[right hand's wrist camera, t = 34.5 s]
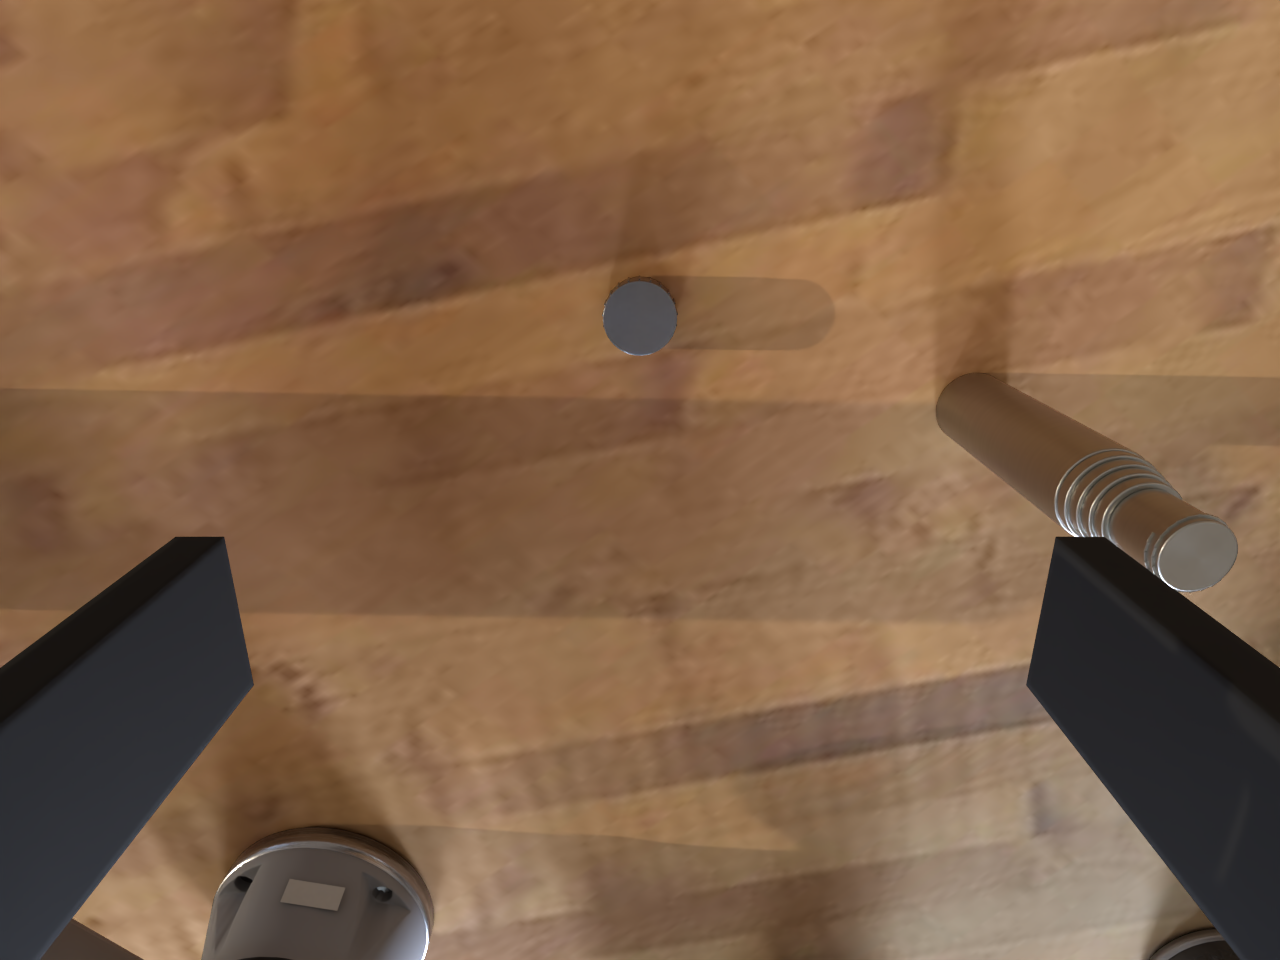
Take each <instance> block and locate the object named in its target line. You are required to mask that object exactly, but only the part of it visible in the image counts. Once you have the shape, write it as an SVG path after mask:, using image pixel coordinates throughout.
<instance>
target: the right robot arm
mask: <svg viewBox="0 0 1280 960" xmlns="http://www.w3.org/2000/svg"><path fill="white" fill-rule="evenodd" d="M253 685H254V684H253V679H252V674H251V669H250V664H249V659H248V654H247V649H246V644H245V639H244V634H243V629H242V624H241V619H240V614H239V609H238V604H237V599H236V594H235V589H234V584H233V579H232V574H231V569H230V564H229V559H228V554H227V549H226V544H225V539H224V537H175V538H173V539H172V540H171V541H169V542H168V543H167V544H165V545H164V546H163V547H161V548H160V549H159V550H157V551H156V552H155V553H153V554H152V555H151V556H149V557H148V558H147V559H145V560H144V561H143V562H141V563H140V564H139V565H137V566H136V567H135V568H133V569H132V570H131V571H129V572H128V573H127V574H125V575H124V576H123V577H121V578H120V579H119V580H117V581H116V582H115V583H113V584H112V585H111V586H109V587H108V588H107V589H105V590H104V591H103V592H101V593H100V594H99V595H97V596H96V597H95V598H93V599H92V600H91V601H89V602H88V603H87V604H85V605H84V606H83V607H81V608H80V609H79V610H77V611H76V612H75V613H73V614H72V615H71V616H69V617H68V618H66V619H65V620H64V621H62V622H61V623H60V624H58V625H57V626H56V627H54V628H53V629H52V630H50V631H49V632H48V633H46V634H45V635H44V636H42V637H41V638H40V639H38V640H37V641H36V642H34V643H33V644H32V645H30V646H29V647H28V648H26V649H25V650H24V651H22V652H21V653H20V654H18V655H17V656H16V657H14V658H13V659H12V660H10V661H9V662H8V663H6V664H5V665H4V666H2V667H1V668H0V960H143V959H141V958H140V957H138V956H136V955H135V954H133V953H131V952H129V951H128V950H126V949H124V948H122V947H121V946H119V945H117V944H115V943H114V942H112V941H110V940H108V939H107V938H105V937H103V936H102V935H100V934H98V933H96V932H95V931H93V930H91V929H89V928H88V927H86V926H84V925H82V924H81V923H79V922H77V921H76V920H74V919H72V918H73V916H74V915H75V914H76V913H77V911H78V910H79V909H80V907H81V906H82V905H83V904H84V902H85V901H86V900H87V898H88V897H89V896H90V895H91V893H92V892H93V891H94V889H95V888H96V887H97V886H98V884H99V883H100V882H101V880H102V879H103V878H104V877H105V875H106V874H107V873H108V871H109V870H110V869H111V868H112V866H113V865H114V864H115V862H116V861H117V860H118V859H119V857H120V856H121V855H122V853H123V852H124V851H125V850H126V848H127V847H128V846H129V845H130V843H131V842H132V841H133V839H134V838H135V837H136V836H137V834H138V833H139V832H140V830H141V829H142V828H143V827H144V825H145V824H146V823H147V821H148V820H149V819H150V818H151V816H152V815H153V814H154V812H155V811H156V810H157V809H158V807H159V806H160V805H161V803H162V802H163V801H164V800H165V798H166V797H167V796H168V794H169V793H170V792H171V791H172V789H173V788H174V787H175V785H176V784H177V783H178V782H179V780H180V779H181V778H182V776H183V775H184V774H185V773H186V771H187V770H188V769H189V767H190V766H191V765H192V764H193V762H194V761H195V760H196V759H197V757H198V756H199V755H200V753H201V752H202V751H203V750H204V748H205V747H206V746H207V744H208V743H209V742H210V741H211V739H212V738H213V737H214V735H215V734H216V733H217V732H218V730H219V729H220V728H221V726H222V725H223V724H224V723H225V721H226V720H227V719H228V717H229V716H230V715H231V714H232V712H233V711H234V710H235V708H236V707H237V706H238V705H239V703H240V702H241V701H242V699H243V698H244V697H245V696H246V694H247V693H248V692H249V690H250V689H251V688H252V687H253ZM1026 685H1027V687H1028V688H1029V689H1030V690H1031V692H1032V693H1033V694H1034V696H1035V697H1036V698H1037V699H1038V701H1039V702H1040V703H1041V705H1042V706H1043V707H1044V708H1045V710H1046V711H1047V712H1048V714H1049V715H1050V716H1051V717H1052V719H1053V720H1054V721H1055V723H1056V724H1057V725H1058V726H1059V728H1060V729H1061V730H1062V732H1063V733H1064V734H1065V735H1066V737H1067V738H1068V739H1069V741H1070V742H1071V743H1072V744H1073V746H1074V747H1075V748H1076V750H1077V751H1078V752H1079V753H1080V755H1081V756H1082V757H1083V759H1084V760H1085V761H1086V762H1087V764H1088V765H1089V766H1090V767H1091V769H1092V770H1093V771H1094V773H1095V774H1096V775H1097V776H1098V778H1099V779H1100V780H1101V782H1102V783H1103V784H1104V785H1105V787H1106V788H1107V789H1108V791H1109V792H1110V793H1111V794H1112V796H1113V797H1114V798H1115V800H1116V801H1117V802H1118V803H1119V805H1120V806H1121V807H1122V809H1123V810H1124V811H1125V812H1126V814H1127V815H1128V816H1129V818H1130V819H1131V820H1132V821H1133V823H1134V824H1135V825H1136V827H1137V828H1138V829H1139V830H1140V832H1141V833H1142V834H1143V836H1144V837H1145V838H1146V839H1147V841H1148V842H1149V843H1150V845H1151V846H1152V847H1153V848H1154V850H1155V851H1156V852H1157V853H1158V855H1159V856H1160V857H1161V859H1162V860H1163V861H1164V862H1165V864H1166V865H1167V866H1168V868H1169V869H1170V870H1171V871H1172V873H1173V874H1174V875H1175V877H1176V878H1177V879H1178V880H1179V882H1180V883H1181V884H1182V886H1183V887H1184V888H1185V889H1186V891H1187V892H1188V893H1189V895H1190V896H1191V897H1192V898H1193V900H1194V901H1195V902H1196V904H1197V905H1198V906H1199V907H1200V909H1201V910H1202V911H1203V913H1204V914H1205V915H1206V916H1207V918H1208V919H1209V920H1210V922H1211V923H1212V924H1213V925H1214V927H1215V928H1216V929H1217V931H1218V932H1219V933H1220V934H1221V936H1222V937H1223V938H1224V939H1225V941H1226V942H1227V943H1228V945H1229V946H1230V947H1231V948H1232V950H1233V951H1234V952H1235V954H1236V955H1237V956H1238V957H1239V959H1240V960H1280V668H1279V667H1278V666H1276V665H1275V664H1274V663H1272V662H1271V661H1270V660H1268V659H1267V658H1266V657H1264V656H1263V655H1262V654H1260V653H1259V652H1258V651H1256V650H1255V649H1254V648H1252V647H1251V646H1250V645H1248V644H1247V643H1246V642H1244V641H1243V640H1242V639H1240V638H1239V637H1238V636H1236V635H1235V634H1234V633H1232V632H1231V631H1230V630H1228V629H1227V628H1226V627H1224V626H1223V625H1222V624H1220V623H1219V622H1218V621H1216V620H1215V619H1213V618H1212V617H1211V616H1209V615H1208V614H1207V613H1205V612H1204V611H1203V610H1201V609H1200V608H1199V607H1197V606H1196V605H1195V604H1193V603H1192V602H1191V601H1189V600H1188V599H1187V598H1185V597H1184V596H1183V595H1181V594H1180V593H1179V592H1177V591H1176V590H1175V589H1173V588H1172V587H1171V586H1169V585H1168V584H1167V583H1165V582H1164V581H1163V580H1161V579H1160V578H1159V577H1157V576H1156V575H1155V574H1153V573H1152V572H1151V571H1149V570H1148V569H1147V568H1145V567H1144V566H1143V565H1141V564H1140V563H1139V562H1137V561H1136V560H1135V559H1133V558H1132V557H1131V556H1129V555H1128V554H1127V553H1125V552H1124V551H1123V550H1121V549H1120V548H1119V547H1117V546H1116V545H1115V544H1113V543H1112V542H1111V541H1109V540H1108V539H1107V538H1105V537H1056V539H1055V544H1054V549H1053V554H1052V559H1051V564H1050V569H1049V574H1048V579H1047V584H1046V589H1045V594H1044V599H1043V604H1042V609H1041V614H1040V619H1039V624H1038V629H1037V634H1036V639H1035V644H1034V649H1033V654H1032V659H1031V664H1030V669H1029V674H1028V679H1027V684H1026ZM433 923H434V909H433V904H432V900H431V896H430V893H429V891H428V889H427V887H426V885H425V883H424V882H423V880H422V878H421V877H420V876H419V874H418V873H417V872H416V871H415V869H414V868H413V867H412V866H411V865H410V864H409V863H408V862H407V861H406V860H405V859H403V858H402V857H401V856H400V855H398V854H397V853H396V852H394V851H393V850H391V849H389V848H388V847H386V846H384V845H383V844H381V843H379V842H377V841H375V840H372V839H370V838H368V837H365V836H362V835H359V834H356V833H352V832H349V831H344V830H339V829H332V828H318V827H312V828H298V829H291V830H286V831H282V832H279V833H276V834H273V835H270V836H268V837H265V838H263V839H261V840H259V841H258V842H256V843H254V844H253V845H251V846H250V847H249V848H247V849H246V850H245V851H244V852H243V853H242V854H241V855H240V856H239V857H238V858H237V859H236V861H235V862H234V863H233V865H232V867H231V868H230V870H229V871H228V873H227V875H226V876H225V878H224V880H223V881H222V883H221V885H220V887H219V888H218V890H217V892H216V895H215V897H214V901H213V905H212V910H211V915H210V920H209V925H208V930H207V935H206V940H205V944H204V949H203V954H202V959H201V960H423V959H424V957H425V954H426V951H427V947H428V943H429V940H430V936H431V933H432V928H433Z"/></svg>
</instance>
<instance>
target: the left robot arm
mask: <svg viewBox="0 0 1280 960" xmlns="http://www.w3.org/2000/svg"><path fill="white" fill-rule="evenodd" d="M1149 960H1240V959H1239V957H1238V956H1237V955H1236V954H1235V952H1234V951H1233V950H1232V948H1231V947H1230V946H1229V945H1228V943H1227V942H1226V941H1225V939H1224V938H1223V937H1222V936H1221V934H1220V933H1219V932H1218V931H1217V929H1210V930H1203V931H1197V932H1193V933H1190V934H1187V935H1184V936H1182V937H1179V938H1177V939H1175V940H1173V941H1171V942H1169V943H1168V944H1166V945H1165V946H1163V947H1162V948H1161V949H1159V950H1158V951H1157V952H1156V953H1155V954H1154V955H1153V956H1152V957H1151V958H1150V959H1149Z"/></svg>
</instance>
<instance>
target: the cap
mask: <svg viewBox="0 0 1280 960" xmlns="http://www.w3.org/2000/svg"><path fill="white" fill-rule="evenodd" d="M674 304H675V301H674V299H672V297H671V295H670V292H669V290H668V289H666V288H665V287H664V286H663V285H662V284H661V282H657V281H655V280H653V279H651V277H650V278H647V277H640V276H639V277H633V278H628V279H627V280H624V281H622V282H621V283H620V282H619V283H618V285H617V286H616V287H615V288H614V289H613V290H611V291H610V294H609V297H608V299H607V300H606V301H605V304H604V305H605V308H604V311H603V314H602V316H603V324H604V325H603V327H604V328H605V331H606V334H607V336H608V338H609V339H610V341H611V342H612V343H613V344H614V345H615V346H616V347H617V348H619V349H620V350H622V351H624V352H626V353H628V354H632V355H648V354H652V353H654V352H656V351H658V350H660V349H661V348H663V347H664V346H665V345H666V344H667V343H668V342H669V340H670V339H671V338H672V336H673V334H674V331H675V328H676V326H677V315H678V313H677V310H676V308H675V305H674Z"/></svg>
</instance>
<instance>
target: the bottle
mask: <svg viewBox="0 0 1280 960" xmlns="http://www.w3.org/2000/svg"><path fill="white" fill-rule="evenodd" d="M936 418H937V422H938V424H939V426H940V428H941V430H942V431H943V432H944V433H945V434H946V435H947V436H948V437H950V438H951V439H952V440H953V441H955V442H956V443H957V444H958V445H960V446H961V447H962V448H963V449H965V450H966V451H967V452H968V453H970V454H971V455H972V456H973V457H975V458H976V459H977V460H978V461H980V462H981V463H982V464H983V465H985V466H986V467H987V468H988V469H990V470H991V471H992V472H993V473H995V474H996V475H997V476H998V477H1000V478H1001V479H1002V480H1003V481H1005V482H1006V483H1007V484H1008V485H1010V486H1011V487H1012V488H1013V489H1015V490H1016V491H1017V492H1018V493H1020V494H1021V495H1022V496H1023V497H1025V498H1026V499H1027V500H1028V501H1030V502H1031V503H1032V504H1033V505H1035V506H1036V507H1037V508H1038V509H1040V510H1041V511H1042V512H1043V513H1045V514H1046V515H1047V516H1048V517H1050V518H1051V519H1052V520H1053V521H1055V522H1056V523H1057V524H1058V525H1060V526H1061V527H1062V528H1063V529H1065V530H1066V531H1067V532H1068V533H1070V534H1071V535H1073V536H1075V537H1105V538H1107V539H1108V540H1109V541H1111V542H1112V543H1113V544H1115V545H1116V546H1117V547H1119V548H1120V549H1121V550H1123V551H1124V552H1125V553H1127V554H1128V555H1129V556H1131V557H1132V558H1133V559H1135V560H1136V561H1137V562H1139V563H1140V564H1141V565H1143V566H1144V567H1145V568H1147V569H1148V570H1149V571H1151V572H1152V573H1153V574H1155V575H1156V576H1157V577H1159V578H1160V579H1161V580H1163V581H1164V582H1165V583H1167V584H1168V585H1169V586H1171V587H1172V588H1173V589H1175V590H1176V591H1178V592H1189V593H1190V592H1195V591H1199V590H1200V591H1202V590H1204V589H1206V588H1208V587H1211V586H1214V585H1215V584H1216V583H1218V582H1219V581H1221V579H1222V578H1223V577H1224V576H1225V575H1226V574H1227V573H1228V572H1229V571H1230V569H1231V568H1232V566H1233V564H1234V562H1235V560H1236V557H1237V553H1238V544H1237V540H1236V537H1235V535H1234V533H1233V532H1232V531H1231V529H1230V528H1229V527H1228V526H1227V525H1226V523H1225V522H1224V521H1222V520H1221V519H1219V518H1218V517H1216V516H1213V515H1210V514H1205V513H1203V512H1202V511H1200V510H1198V509H1196V508H1195V507H1193V506H1191V505H1190V504H1188V503H1186V502H1184V501H1183V500H1182V498H1181V496H1180V494H1179V493H1178V492H1177V491H1176V490H1175V489H1174V488H1173V487H1172V486H1171V485H1170V483H1169V482H1168V481H1166V480H1165V478H1164V477H1163V476H1162V475H1161V474H1160V473H1159V472H1158V471H1157V469H1156V468H1155V467H1154V466H1153V465H1152V464H1151V463H1149V462H1148V461H1146V460H1145V459H1144V458H1143V457H1142V456H1140V455H1139V454H1137V453H1135V452H1133V451H1132V450H1130V449H1128V448H1126V447H1124V446H1122V445H1120V444H1118V443H1117V442H1115V441H1113V440H1111V439H1109V438H1107V437H1105V436H1103V435H1101V434H1100V433H1098V432H1096V431H1094V430H1092V429H1090V428H1088V427H1086V426H1085V425H1083V424H1081V423H1079V422H1077V421H1075V420H1073V419H1071V418H1069V417H1068V416H1066V415H1064V414H1062V413H1060V412H1058V411H1056V410H1054V409H1053V408H1051V407H1049V406H1047V405H1045V404H1043V403H1041V402H1039V401H1037V400H1036V399H1034V398H1032V397H1030V396H1028V395H1026V394H1024V393H1022V392H1021V391H1019V390H1017V389H1015V388H1013V387H1011V386H1009V385H1007V384H1005V383H1004V382H1002V381H1000V380H998V379H996V378H994V377H992V376H990V375H987V374H984V373H971V374H966V375H963V376H961V377H959V378H957V379H955V380H954V381H952V382H951V383H950V384H949V385H948V386H947V387H946V388H945V389H944V390H943V392H942V393H941V395H940V397H939V400H938V402H937V407H936Z"/></svg>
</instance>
